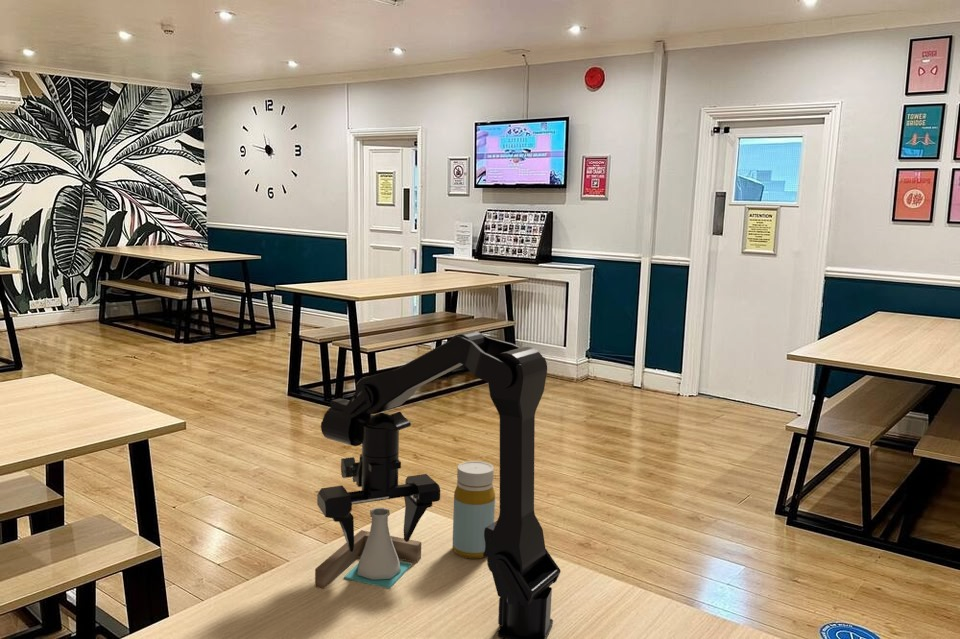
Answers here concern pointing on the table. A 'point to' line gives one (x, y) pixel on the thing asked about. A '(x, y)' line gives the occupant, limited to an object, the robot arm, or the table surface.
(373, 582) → the pad
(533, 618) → the robot arm
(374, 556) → the flask
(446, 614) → the table surface
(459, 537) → the bottle
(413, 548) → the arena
